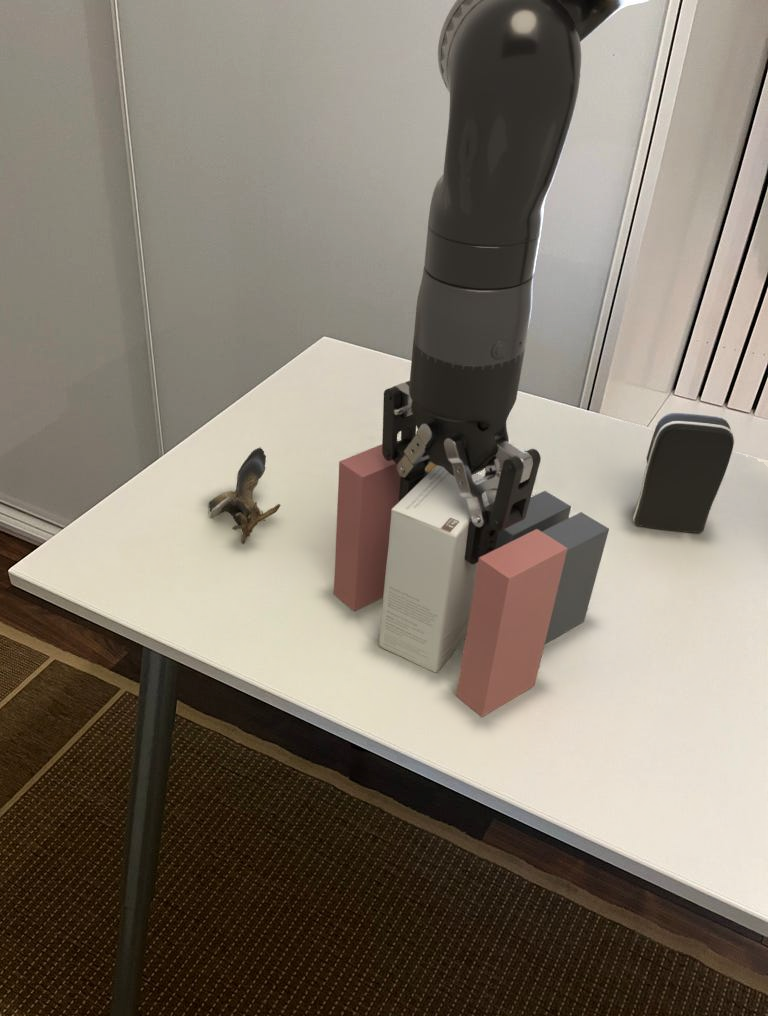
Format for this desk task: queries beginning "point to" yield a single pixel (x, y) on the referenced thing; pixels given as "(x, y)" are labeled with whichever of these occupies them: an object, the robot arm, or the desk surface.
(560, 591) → the grey book
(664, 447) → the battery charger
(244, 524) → the eagle figurine
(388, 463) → the rose book
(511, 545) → the rose book
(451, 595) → the cosmetic box
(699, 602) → the desk surface
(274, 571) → the desk surface
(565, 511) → the grey book
